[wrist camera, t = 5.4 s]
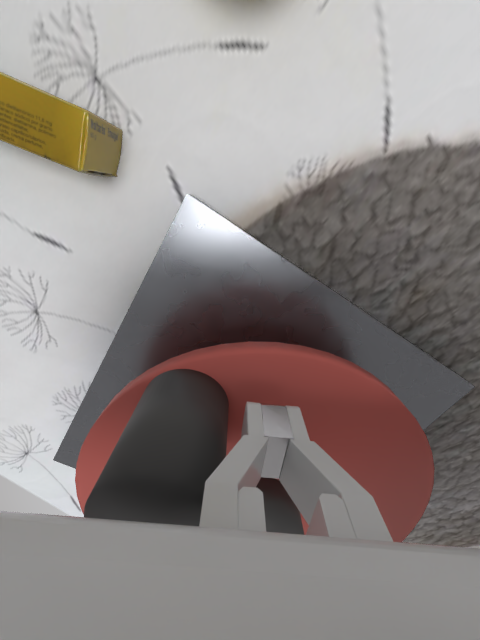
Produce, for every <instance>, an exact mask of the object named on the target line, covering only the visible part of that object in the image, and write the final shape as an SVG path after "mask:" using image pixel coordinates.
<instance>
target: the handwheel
mask: <svg viewBox="0 0 480 640" xmlns="http://www.w3.org/2000/svg"><path fill="white" fill-rule="evenodd" d="M246 402H256V403H266V404H274V405H282V406H298V407H299V408H300V410H301V413H302V416H303V420H304V423H305V426H306V429H307V432H308V436H309V439H310V441H314V442H315V443H316V444H318V445H319V446H320V447H321V448H322V449H323V450H324V451H325V452H326V453H327V454H328V455H329V456H330V457H331V458H332V459H333V460H334V461H336V462H337V463H338V464H339V465H340V466H341V467H342V468H343V469H344V470H345V471H346V472H347V473H348V474H349V475H350V476H351V477H352V478H353V479H355V480H356V481H357V482H358V483H359V484H360V485H361V486H362V487H363V488H364V489H365V490H366V491H367V492H368V493H369V494H370V495H371V496H373V498H374V501H375V503H376V505H377V507H378V509H379V511H380V514H381V516H382V518H383V520H384V522H385V524H386V526H387V529H388V531H389V533H390V535H391V537H392V539H393V542H402V541H403V540H404V539H405V538H406V537H407V536H408V535H409V533H410V532H411V531H412V530H413V529H414V527H415V526H416V524H417V523H418V521H419V520H420V518H421V517H422V515H423V513H424V511H425V509H426V507H427V505H428V502H429V500H430V496H431V492H432V488H433V483H434V463H433V455H432V451H431V448H430V445H429V442H428V440H427V437H426V435H425V433H424V431H423V430H422V428H421V426H420V425H419V423H418V421H417V420H416V418H415V417H414V416H413V415H412V414H411V412H410V411H409V410H408V409H407V408H406V407H405V405H404V404H403V403H402V402H401V401H400V400H399V398H398V397H397V396H396V395H395V394H394V393H393V392H392V391H391V389H390V388H389V387H388V386H386V385H385V384H384V383H383V382H381V381H380V380H379V379H378V378H376V377H375V376H374V375H373V374H371V373H370V372H368V371H366V370H365V369H363V368H361V367H359V366H358V365H356V364H354V363H353V362H350V361H348V360H346V359H343V358H341V357H338V356H336V355H333V354H331V353H329V352H325V351H321V350H317V349H314V348H310V347H306V346H301V345H294V344H287V343H280V342H253V341H248V342H238V343H227V344H219V345H215V346H210V347H205V348H201V349H196V350H193V351H190V352H187V353H184V354H181V355H179V356H176V357H173V358H170V359H168V360H166V361H164V362H162V363H160V364H158V365H156V366H154V367H152V368H150V369H148V370H147V371H145V372H144V373H142V374H141V375H139V376H138V377H137V378H135V379H134V380H132V381H131V382H129V383H128V384H127V385H126V386H125V387H124V388H123V389H122V390H121V391H120V392H119V393H118V394H116V395H115V396H114V397H113V399H112V400H111V401H110V403H109V404H108V405H107V407H106V408H105V409H104V410H103V412H102V413H101V415H100V416H99V418H98V419H97V420H96V422H95V423H94V425H93V426H92V428H91V429H90V431H89V433H88V435H87V437H86V439H85V441H84V443H83V445H82V447H81V450H80V453H79V457H78V460H77V465H76V477H75V482H76V490H77V497H78V500H79V503H80V506H81V509H82V512H83V514H84V518H97V519H110V520H122V521H135V522H148V523H161V524H174V525H186V526H199V524H200V517H201V510H202V502H203V495H204V488H205V482H206V480H207V479H208V478H209V477H210V475H211V474H212V473H213V472H214V471H215V469H216V468H217V467H218V466H219V465H220V463H221V462H222V461H223V460H224V458H225V457H226V456H227V455H228V454H229V452H230V451H231V450H232V449H233V447H234V446H235V445H236V444H237V443H238V441H239V440H240V439H241V433H242V424H243V418H244V412H245V406H246ZM256 488H258V489H260V490H261V491H262V492H263V500H264V511H265V522H266V532H275V533H288V534H301V535H306V533H307V530H308V527H309V525H308V523H307V522H306V520H305V519H304V517H303V516H302V514H301V513H300V511H299V510H298V508H297V507H296V505H295V504H294V502H293V501H292V499H291V497H290V496H289V494H288V493H287V491H286V490H285V488H284V487H283V485H282V484H281V482H280V481H279V479H275V478H264V477H261V478H260V480H259V482H258V484H257V486H256Z"/></svg>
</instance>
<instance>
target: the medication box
mask: <svg viewBox="0 0 480 640" xmlns="http://www.w3.org/2000/svg"><path fill="white" fill-rule="evenodd" d="M0 140H2V141H4V142H6V143H9V144H11V145H14V146H16V147H19V148H21V149H24V150H26V151H29V152H31V153H34V154H36V155H39V156H41V157H44V158H46V159H49V160H51V161H54V162H56V163H59V164H61V165H64V166H66V167H69V168H71V169H73V170H76V171H78V172H82V173H86V174H90V175H96V176H102V177H113V176H115V177H117V175H116V173H117V168H118V164H119V160H120V154H121V146H122V130H121V129H119V128H118V127H116V126H114V125H112V124H111V123H109V122H107V121H106V120H104V119H102V118H100V117H99V116H97V115H95V114H93V113H92V112H90V111H88V110H85V109H83V108H81V107H79V106H76V105H74V104H72V103H70V102H67V101H65V100H63V99H61V98H58V97H56V96H54V95H52V94H49V93H47V92H45V91H43V90H40V89H38V88H36V87H34V86H31V85H29V84H27V83H24V82H22V81H20V80H18V79H15V78H13V77H11V76H8V75H6V74H4V73H2V72H0Z"/></svg>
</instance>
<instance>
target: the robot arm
mask: <svg viewBox="0 0 480 640" xmlns="http://www.w3.org/2000/svg"><path fill="white" fill-rule="evenodd" d="M261 477H264V478H275V479H279V481H280V482H281V484H282V485H283V487H284V488H285V490H286V491H287V493H288V494H289V496H290V497H291V499H292V501H293V502H294V504H295V505H296V507H297V508H298V510H299V511H300V513H301V514H302V516H303V517H304V519H305V520H306V522H307V523H308V525H309V527H308V530H307V533H306V535H301V534H288V533H275V532H266V522H265V511H264V500H263V492H262V491H261V490H260V489H258V488H256V486H257V484H258V482H259V480H260V478H261ZM0 640H480V548H468V547H455V546H443V545H430V544H417V543H404V542H393V539H392V537H391V535H390V533H389V531H388V529H387V526H386V524H385V522H384V520H383V518H382V516H381V514H380V511H379V509H378V507H377V505H376V503H375V501H374V498H373V496H371V495H370V494H369V493H368V492H367V491H366V490H365V489H364V488H363V487H362V486H361V485H360V484H359V483H358V482H357V481H356V480H355V479H353V478H352V477H351V476H350V475H349V474H348V473H347V472H346V471H345V470H344V469H343V468H342V467H341V466H340V465H339V464H338V463H337V462H336V461H334V460H333V459H332V458H331V457H330V456H329V455H328V454H327V453H326V452H325V451H324V450H323V449H322V448H321V447H320V446H319V445H318V444H316V443H315V442H314V441H310V439H309V436H308V432H307V429H306V426H305V423H304V420H303V416H302V413H301V410H300V408H299V407H298V406H282V405H274V404H266V403H256V402H246V406H245V412H244V418H243V424H242V433H241V439H240V440H239V441H238V443H237V444H236V445H235V446H234V447H233V449H232V450H231V451H230V452H229V454H228V455H227V456H226V457H225V458H224V460H223V461H222V462H221V463H220V465H219V466H218V467H217V468H216V469H215V471H214V472H213V473H212V474H211V475H210V477H209V478H208V479H207V480H206V482H205V488H204V495H203V502H202V510H201V517H200V524H199V526H186V525H174V524H161V523H148V522H135V521H122V520H110V519H97V518H84V517H71V516H58V515H45V514H32V513H20V512H7V511H0Z"/></svg>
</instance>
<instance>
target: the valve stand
mask: <svg viewBox="0 0 480 640" xmlns="http://www.w3.org/2000/svg"><path fill="white" fill-rule="evenodd" d="M248 341H253V342H280V343H287V344H294V345H301V346H306V347H310V348H314V349H317V350H321V351H325V352H329V353H331V354H333V355H336V356H338V357H341V358H343V359H346V360H348V361H350V362H353V363H354V364H356V365H358V366H359V367H361V368H363V369H365V370H366V371H368V372H370V373H371V374H373V375H374V376H375V377H376V378H378V379H379V380H380V381H381V382H383V383H384V384H385V385H386V386H388V387H389V388H390V389H391V391H392V392H393V393H394V394H395V395H396V396H397V397H398V398H399V400H400V401H401V402H402V403H403V404H404V405H405V407H406V408H407V409H408V410H409V411H410V412H411V414H412V415H413V416H414V417H415V418H416V420H417V421H418V423H419V425H420V426H421V428H422V430H424V429H425V428H427V427H428V426H429V425H430V424H431V423H433V422H434V421H435V420H436V419H437V418H438V417H440V416H441V415H442V414H443V413H444V412H445V411H447V410H448V409H449V408H450V407H451V406H453V405H454V404H455V403H456V402H457V401H458V400H460V399H461V398H462V397H463V396H464V395H466V394H467V393H468V392H469V391H470V390H471V389H473V388H474V387H475V386H473V385H472V384H471V383H469V382H468V381H467V380H465V379H464V378H463V377H461V376H460V375H459V374H457V373H456V372H454V371H453V370H451V369H450V368H448V367H447V366H445V365H444V364H442V363H441V362H439V361H438V360H436V359H435V358H433V357H432V356H430V355H429V354H427V353H426V352H424V351H423V350H421V349H420V348H418V347H417V346H415V345H414V344H412V343H411V342H409V341H408V340H406V339H405V338H404V337H402V336H401V335H399V334H398V333H396V332H395V331H393V330H392V329H390V328H389V327H387V326H386V325H384V324H383V323H381V322H380V321H378V320H377V319H375V318H374V317H372V316H371V315H369V314H368V313H366V312H365V311H363V310H362V309H360V308H359V307H357V306H356V305H354V304H353V303H351V302H350V301H348V300H347V299H345V298H344V297H343V296H341V295H340V294H338V293H337V292H335V291H334V290H332V289H331V288H329V287H328V286H326V285H325V284H323V283H322V282H320V281H319V280H317V279H316V278H314V277H313V276H311V275H310V274H308V273H307V272H305V271H304V270H302V269H301V268H299V267H298V266H296V265H295V264H293V263H292V262H290V261H289V260H287V259H286V258H284V257H283V256H281V255H280V254H279V253H277V252H276V251H274V250H273V249H271V248H270V247H268V246H267V245H265V244H264V243H262V242H261V241H259V240H258V239H256V238H255V237H253V236H252V235H250V234H249V233H247V232H246V231H244V230H243V229H241V228H240V227H238V226H237V225H235V224H234V223H232V222H231V221H229V220H228V219H226V218H225V217H223V216H222V215H220V214H219V213H218V212H216V211H215V210H213V209H212V208H210V207H209V206H207V205H206V204H204V203H203V202H201V201H200V200H198V199H197V198H195V197H194V196H192V195H190V194H187V195H186V197H185V199H184V201H183V203H182V205H181V207H180V209H179V211H178V213H177V215H176V217H175V219H174V221H173V223H172V224H171V226H170V228H169V230H168V232H167V234H166V236H165V238H164V240H163V242H162V244H161V246H160V248H159V250H158V252H157V254H156V256H155V258H154V260H153V262H152V264H151V266H150V268H149V270H148V272H147V274H146V276H145V278H144V280H143V282H142V284H141V286H140V288H139V290H138V292H137V294H136V296H135V298H134V300H133V302H132V304H131V306H130V308H129V310H128V312H127V314H126V316H125V318H124V320H123V322H122V324H121V326H120V328H119V330H118V332H117V334H116V336H115V338H114V340H113V342H112V344H111V346H110V348H109V350H108V352H107V354H106V356H105V358H104V360H103V362H102V364H101V366H100V368H99V370H98V372H97V374H96V376H95V378H94V380H93V382H92V384H91V386H90V388H89V390H88V392H87V394H86V396H85V397H84V399H83V401H82V403H81V405H80V407H79V409H78V411H77V413H76V415H75V417H74V419H73V421H72V423H71V425H70V427H69V429H68V431H67V433H66V435H65V437H64V439H63V441H62V443H61V445H60V447H59V449H58V451H57V453H56V455H55V457H54V459H53V460H55V461H57V462H60V463H62V464H65V465H67V466H70V467H73V468H75V469H76V465H77V460H78V457H79V453H80V450H81V447H82V445H83V443H84V441H85V439H86V437H87V435H88V433H89V431H90V429H91V428H92V426H93V425H94V423H95V422H96V420H97V419H98V418H99V416H100V415H101V413H102V412H103V410H104V409H105V408H106V407H107V405H108V404H109V403H110V401H111V400H112V399H113V397H114V396H115V395H116V394H118V393H119V392H120V391H121V390H122V389H123V388H124V387H125V386H126V385H127V384H128V383H129V382H131V381H132V380H134V379H135V378H137V377H138V376H139V375H141V374H142V373H144V372H145V371H147V370H148V369H150V368H152V367H154V366H156V365H158V364H160V363H162V362H164V361H166V360H168V359H170V358H173V357H176V356H179V355H181V354H184V353H187V352H190V351H193V350H196V349H201V348H205V347H210V346H215V345H219V344H227V343H238V342H248Z"/></svg>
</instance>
